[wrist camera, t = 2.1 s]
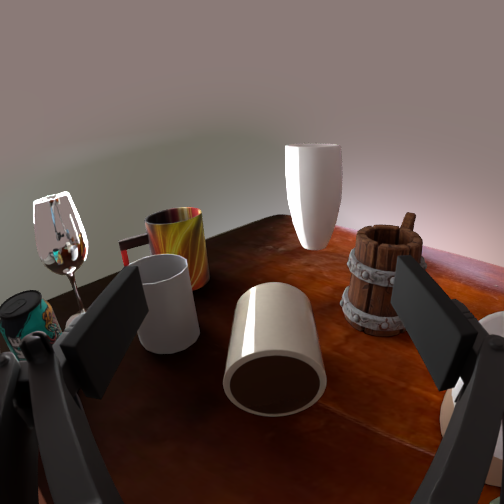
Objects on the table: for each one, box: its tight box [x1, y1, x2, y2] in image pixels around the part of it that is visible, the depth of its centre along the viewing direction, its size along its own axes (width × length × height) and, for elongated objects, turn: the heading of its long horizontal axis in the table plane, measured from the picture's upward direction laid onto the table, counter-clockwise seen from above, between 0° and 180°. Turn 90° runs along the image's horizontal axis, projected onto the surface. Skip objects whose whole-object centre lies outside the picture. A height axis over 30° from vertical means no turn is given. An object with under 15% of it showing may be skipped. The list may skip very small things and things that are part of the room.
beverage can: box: [0, 290, 62, 361], centre depth 27 cm, size 7×7×12 cm
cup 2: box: [285, 143, 342, 250], centre depth 54 cm, size 10×10×22 cm
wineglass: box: [34, 192, 88, 328], centre depth 39 cm, size 8×8×20 cm
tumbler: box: [223, 282, 327, 417], centre depth 30 cm, size 11×9×9 cm
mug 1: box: [118, 207, 210, 291], centre depth 51 cm, size 10×14×12 cm
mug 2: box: [340, 212, 427, 336], centre depth 39 cm, size 12×14×15 cm
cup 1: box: [128, 254, 200, 354], centre depth 38 cm, size 8×8×10 cm
